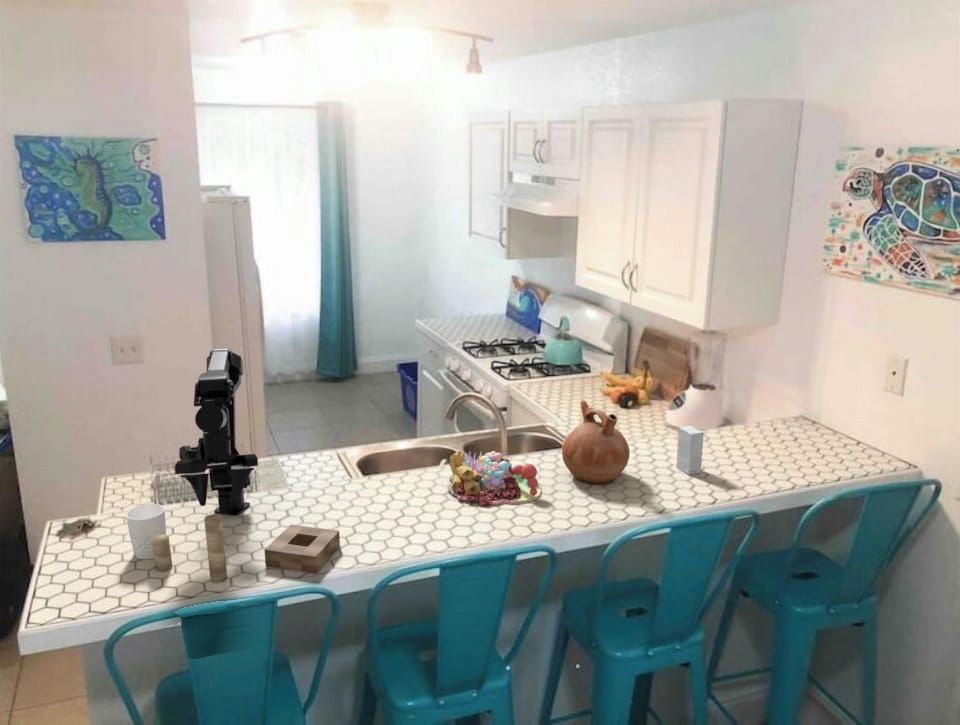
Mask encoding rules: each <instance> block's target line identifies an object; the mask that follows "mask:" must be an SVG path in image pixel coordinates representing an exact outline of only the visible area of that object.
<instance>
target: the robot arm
mask: <svg viewBox="0 0 960 725" xmlns="http://www.w3.org/2000/svg"><path fill="white" fill-rule="evenodd" d="M242 359H243V358H242V356H241V355H238V354H236V353H235V352H233V350H232V348H229V347H226V348H212V349H210V350H209V356H207V357H206V371H205V372H204V373H203V372H202V373H201V374H200V375H199V377H198V380H197V381H196V382H195V384H194V385H195V386H194V398H193V407H195V408H196V407H200V408H199V409H198V410H197V412H196V414H195V418H194V420H195V425H196V427H197V428H198V429H199V430H201V431H202V437H199V438H198V442H197V446H193V447H191V445H183V446H180V448H179V454H178V457H179V459H180V460H177V461H176V463H175V465H174V474H175V475H180V478H182V479H183V478H184V479H185V480H186V481H187V482H189V484H190V485H191V487H192V489H193V491H194V494H195V496H196V498H197V501H198V503H199V506H200V507H205V506H206V503H207V497H208V488H209V487H208V484H209V482H210V487H211V492H215V491H217V495H218V496H217V501H218V502H217V503H218V507H216V508H215V509H214V510H213V512H214V514H220V515H221V514H222V515H230V516H238V515H239V514H241V513H242V512H244V511H245V510H246V509H247V508H248V507H249V506H250V505H251V502H248V501H245V493H244V489H248V487H249V486H251V485H252V484H251V483H252V482H251V476H250V475H251V472H252V471H255V467H258V466H259V458H258V456H257V455H256V454H255V453H250V454H249V453H247V454H240V453H239V451H238V450H237V425H236V424H237V422H236V420H237V418H236V393H237V391H238V389H239V388H240V386H241V385H242V376H244V363H243V360H242ZM207 470H209V471H208V472H207V473H205V472H206V471H207Z"/></svg>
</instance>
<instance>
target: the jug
mask: <svg viewBox="0 0 960 725" xmlns="http://www.w3.org/2000/svg"><path fill="white" fill-rule="evenodd" d="M580 410H581V414H582V418H583V419H582V420H583V422H582V424H580V425H578V426H576V427H575V428H574V429H573V430H572V431H571V432H570V433H569V434H568V435H567V436H566V437H565V439H564V441H563V443H562V444H561V446H562V447H561V448H562V449H561V455H562V456H561V457H562V460H563V463H564V465H565V467H566V468H567V470H568V471H569V473H570V474H571V475H572V476H573V477H574V478H575V479H576V480H577V481H578V482H581V483H584V484H586V485H592V486H603V485H609V484H611V483H613V482H615V481H616V479H617V478H619V476H620V475H621V474H622V473H623V471H624V470H625V469H626V467H627V465H628V464H629V459H630V455H631V454H630V447H629V444H628V441H627V440H626V438H625V436H624V434H622V432H621V431H620V430H619V429H618V428H616V424H617V422H618V417H617V416H616V415H615V414H614V413H609V414H608V415H607V414H606V412H605V411H604V410H602V409H599V408H593V407H592V406H589V404H588V402H587V401H586V400H584V399H581V401H580ZM596 415H597V416H598V418H599V419H600V421H597V420H596V419H595V417H594V416H596Z"/></svg>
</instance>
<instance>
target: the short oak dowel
mask: <svg viewBox="0 0 960 725" xmlns="http://www.w3.org/2000/svg"><path fill="white" fill-rule="evenodd" d="M152 545H153V553H154V558H153V559H154V569H155V571H156V572H161V573H163V572H167V571H169V570H171V569H172V568H173V561H172V552H171V542H170V536H169V535H168V534H166V535H165V534H162V535H157V536H155V537H153V538H152Z"/></svg>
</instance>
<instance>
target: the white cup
mask: <svg viewBox="0 0 960 725" xmlns="http://www.w3.org/2000/svg"><path fill="white" fill-rule="evenodd" d="M125 516H126V521H127V522H126V523H127V526H128V528H127V529H128V532H129V538H130V543H131V546H132V551H133V556H134V557H135V558H136V559H138V560H139V559H140V560H153V559H154V553H153V545H152V538H153V537H155V536H157V535H162V534H165V535H167V526H166V524H167V523H166V522H167V521H166V508H165V507H164V506H163V505H162V504H158V503H145V504H141V505H138V506H135V507H133V508H130V509H129V510H128V511H126V514H125Z"/></svg>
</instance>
